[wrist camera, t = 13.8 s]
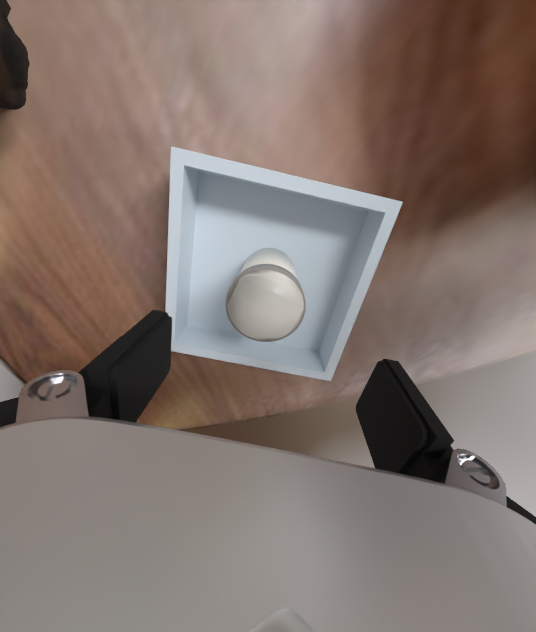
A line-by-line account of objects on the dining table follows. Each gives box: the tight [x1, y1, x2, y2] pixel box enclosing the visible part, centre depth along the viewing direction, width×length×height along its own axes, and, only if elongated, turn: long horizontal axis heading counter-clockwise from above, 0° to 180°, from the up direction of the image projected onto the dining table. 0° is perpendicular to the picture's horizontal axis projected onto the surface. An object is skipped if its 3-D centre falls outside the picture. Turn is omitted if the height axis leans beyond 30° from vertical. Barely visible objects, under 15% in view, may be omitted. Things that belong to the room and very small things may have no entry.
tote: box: [165, 146, 403, 381], centre depth 24 cm, size 18×18×5 cm
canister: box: [225, 248, 306, 342], centre depth 22 cm, size 6×6×9 cm
